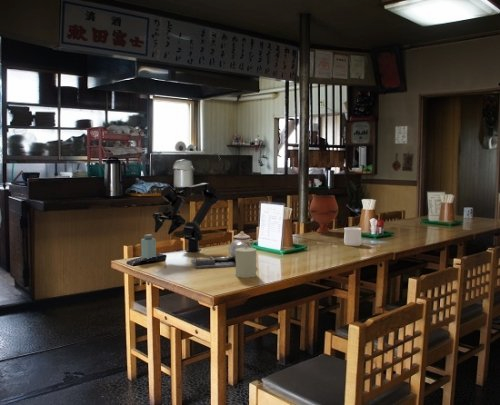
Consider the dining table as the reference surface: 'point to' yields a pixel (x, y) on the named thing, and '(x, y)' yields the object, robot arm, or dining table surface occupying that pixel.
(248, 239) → the teacup with lid
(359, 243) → the cup
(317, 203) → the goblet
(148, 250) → the pale teal bottle
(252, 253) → the can
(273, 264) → the dining table surface
